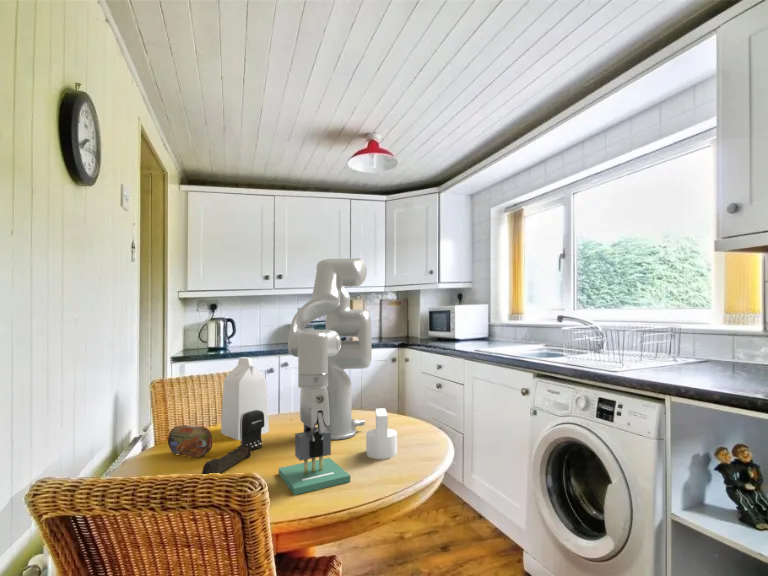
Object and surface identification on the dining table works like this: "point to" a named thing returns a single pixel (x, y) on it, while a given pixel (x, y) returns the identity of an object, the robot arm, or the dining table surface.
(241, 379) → the milk
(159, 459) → the dining table surface
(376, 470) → the dining table surface
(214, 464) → the hand tool
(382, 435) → the base with upright slab
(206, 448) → the tin
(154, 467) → the dining table surface
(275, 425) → the dining table surface
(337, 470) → the header board
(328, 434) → the block
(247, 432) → the black battery charger
